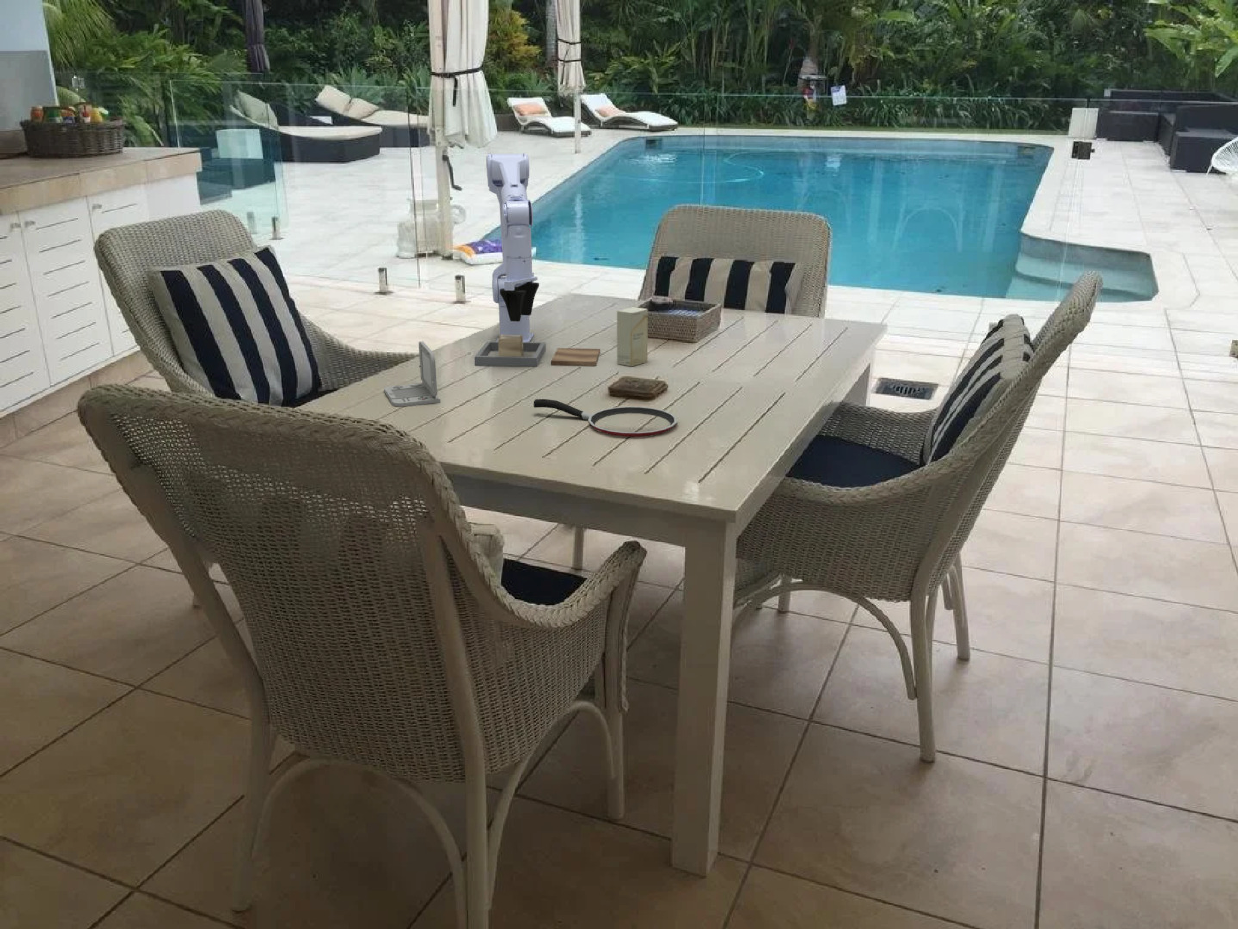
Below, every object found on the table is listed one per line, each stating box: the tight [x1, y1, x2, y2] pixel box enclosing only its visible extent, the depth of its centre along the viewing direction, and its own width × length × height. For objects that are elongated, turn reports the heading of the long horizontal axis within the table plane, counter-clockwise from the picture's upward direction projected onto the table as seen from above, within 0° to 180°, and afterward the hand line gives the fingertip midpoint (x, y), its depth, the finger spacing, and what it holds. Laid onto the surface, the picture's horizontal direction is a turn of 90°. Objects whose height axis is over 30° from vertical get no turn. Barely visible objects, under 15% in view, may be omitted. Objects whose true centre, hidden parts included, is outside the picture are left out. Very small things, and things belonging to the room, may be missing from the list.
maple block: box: [497, 335, 524, 357], centre depth 242 cm, size 4×5×5 cm
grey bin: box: [473, 340, 547, 368], centre depth 242 cm, size 15×14×2 cm
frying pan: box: [533, 398, 678, 438], centre depth 197 cm, size 28×16×3 cm, turn 72°
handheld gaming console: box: [383, 341, 441, 408], centre depth 211 cm, size 13×9×10 cm
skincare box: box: [616, 306, 649, 367], centre depth 236 cm, size 6×4×12 cm
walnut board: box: [550, 347, 601, 367], centre depth 241 cm, size 12×10×1 cm
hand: (520, 318), depth 237 cm, fingers open, 7 cm apart
